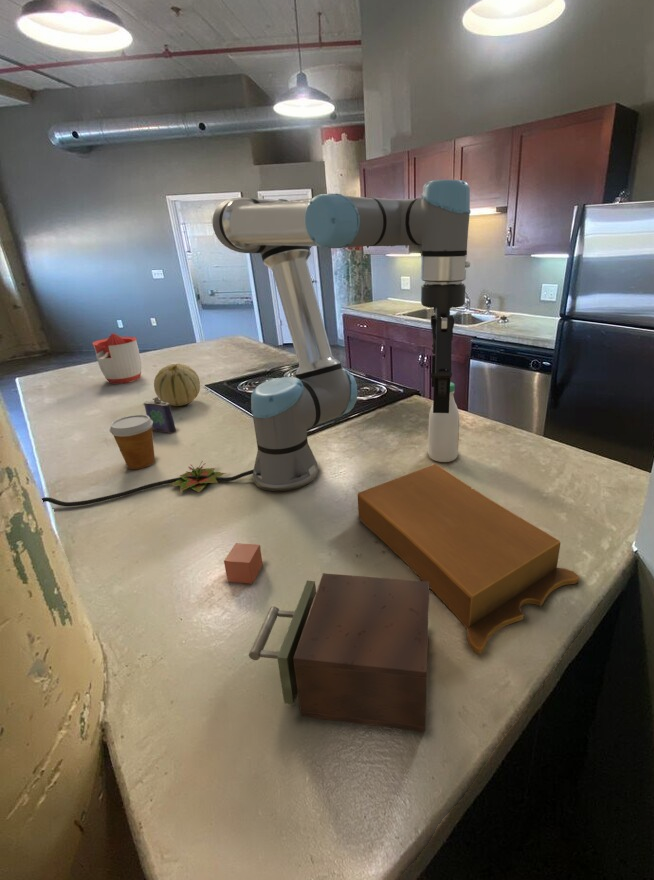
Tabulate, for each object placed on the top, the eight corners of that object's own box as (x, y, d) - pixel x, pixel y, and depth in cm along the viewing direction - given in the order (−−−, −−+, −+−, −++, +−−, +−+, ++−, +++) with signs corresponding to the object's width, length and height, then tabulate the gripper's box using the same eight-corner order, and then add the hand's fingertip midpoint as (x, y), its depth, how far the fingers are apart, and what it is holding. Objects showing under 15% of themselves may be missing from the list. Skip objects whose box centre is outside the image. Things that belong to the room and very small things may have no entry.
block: (227, 581, 70) (223, 560, 68) (239, 562, 74) (235, 542, 72) (252, 583, 69) (249, 562, 68) (263, 564, 73) (259, 544, 72)
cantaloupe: (189, 394, 158) (181, 355, 152) (212, 402, 149) (204, 361, 144) (150, 406, 146) (140, 365, 141) (172, 415, 138) (162, 372, 133)
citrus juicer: (90, 386, 168) (76, 338, 161) (122, 373, 184) (110, 329, 177) (124, 388, 166) (111, 338, 159) (153, 375, 182) (143, 329, 175)
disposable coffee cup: (169, 458, 110) (160, 417, 106) (136, 475, 102) (124, 431, 98) (145, 451, 114) (135, 411, 110) (111, 468, 106) (99, 425, 102)
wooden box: (440, 461, 94) (585, 548, 66) (440, 486, 96) (579, 581, 68) (350, 495, 82) (480, 619, 54) (351, 523, 84) (477, 655, 56)
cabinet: (300, 716, 50) (293, 658, 46) (327, 624, 61) (322, 572, 58) (425, 731, 48) (426, 672, 44) (427, 634, 60) (429, 581, 56)
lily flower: (159, 490, 96) (155, 472, 95) (197, 465, 107) (194, 449, 105) (199, 500, 92) (196, 482, 90) (235, 473, 103) (233, 457, 101)
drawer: (245, 699, 51) (236, 653, 48) (279, 619, 61) (273, 577, 59) (396, 717, 48) (395, 669, 46) (403, 630, 59) (403, 588, 56)
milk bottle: (457, 464, 105) (460, 389, 98) (426, 461, 106) (428, 387, 99) (458, 450, 112) (461, 379, 105) (429, 447, 113) (431, 378, 106)
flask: (148, 429, 128) (140, 397, 124) (155, 426, 130) (148, 394, 127) (171, 433, 125) (164, 400, 121) (179, 429, 128) (172, 397, 124)
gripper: (474, 290, 59) (465, 426, 67) (459, 276, 82) (454, 378, 90) (421, 291, 60) (419, 425, 67) (421, 276, 83) (419, 377, 91)
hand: (439, 398), depth 79 cm, fingers open, 13 cm apart
